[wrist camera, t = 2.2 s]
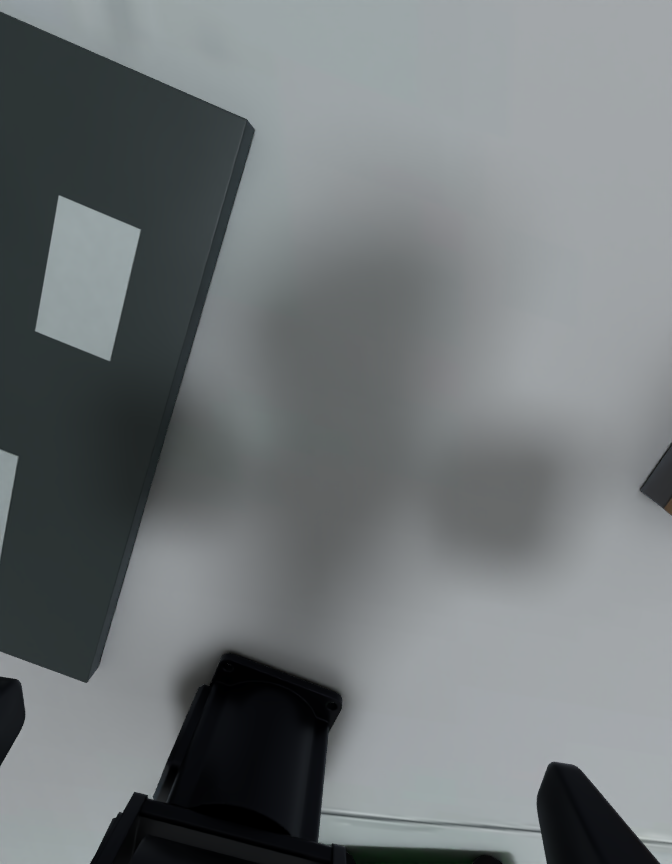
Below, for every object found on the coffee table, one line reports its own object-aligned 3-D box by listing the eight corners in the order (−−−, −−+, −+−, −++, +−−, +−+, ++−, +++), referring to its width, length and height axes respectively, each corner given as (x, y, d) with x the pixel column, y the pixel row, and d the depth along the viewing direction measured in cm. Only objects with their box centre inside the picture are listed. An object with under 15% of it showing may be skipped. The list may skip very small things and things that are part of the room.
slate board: (255, 129, 16) (247, 119, 15) (97, 667, 24) (86, 684, 23) (-26, 6, 15) (-54, -13, 14) (-89, 599, 23) (-109, 613, 22)
